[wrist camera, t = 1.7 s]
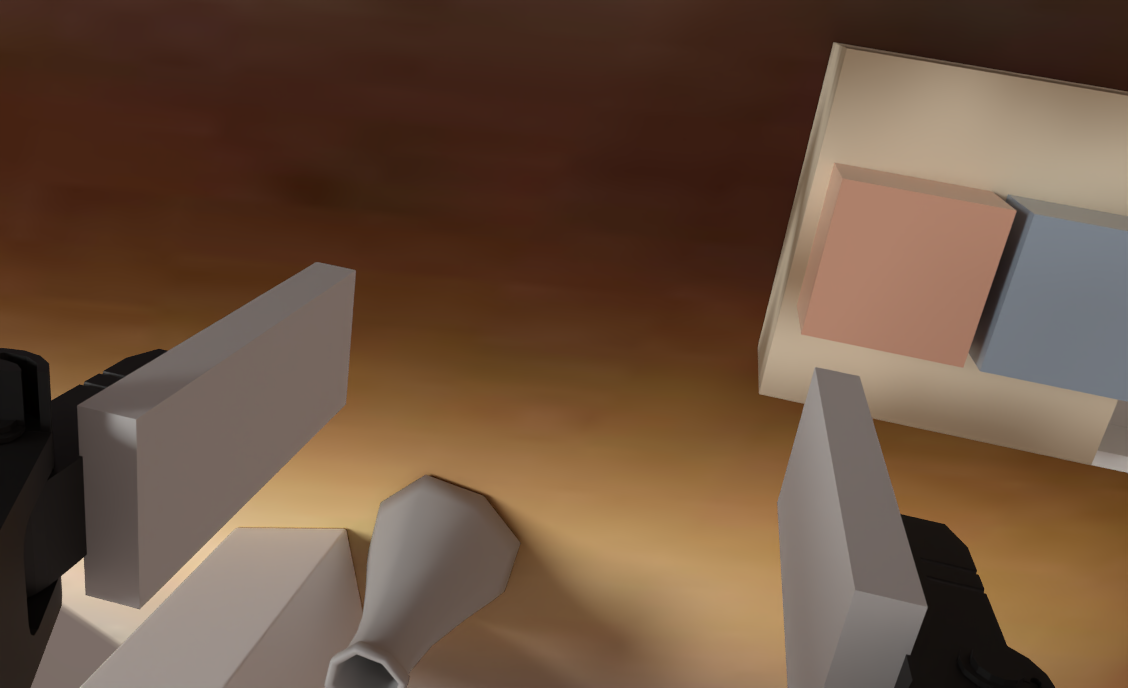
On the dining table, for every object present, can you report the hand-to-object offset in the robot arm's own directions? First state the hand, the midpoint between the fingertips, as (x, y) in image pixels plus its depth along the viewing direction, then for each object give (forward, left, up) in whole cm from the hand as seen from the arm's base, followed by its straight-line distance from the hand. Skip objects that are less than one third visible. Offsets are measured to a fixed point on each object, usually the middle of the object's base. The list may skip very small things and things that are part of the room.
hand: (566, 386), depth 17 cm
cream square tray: (0, +11, -21) cm, 24 cm away
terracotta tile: (0, +8, -16) cm, 18 cm away
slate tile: (0, +14, -16) cm, 21 cm away
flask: (+19, -7, -22) cm, 30 cm away
